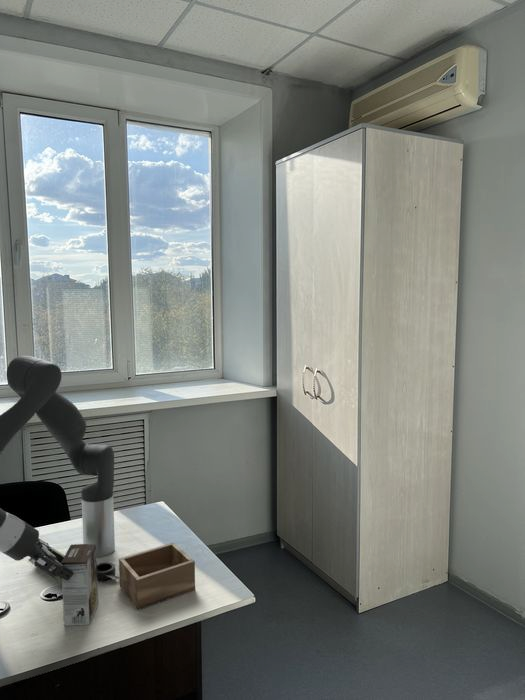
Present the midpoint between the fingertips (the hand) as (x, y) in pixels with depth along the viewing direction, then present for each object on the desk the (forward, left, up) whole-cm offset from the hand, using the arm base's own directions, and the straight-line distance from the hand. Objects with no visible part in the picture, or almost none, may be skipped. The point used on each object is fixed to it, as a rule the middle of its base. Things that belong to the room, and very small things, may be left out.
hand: (66, 568), depth 126 cm
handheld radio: (-25, +2, -13) cm, 29 cm away
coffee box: (0, +3, -13) cm, 13 cm away
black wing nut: (-14, +14, -13) cm, 24 cm away
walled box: (0, +23, -13) cm, 26 cm away
